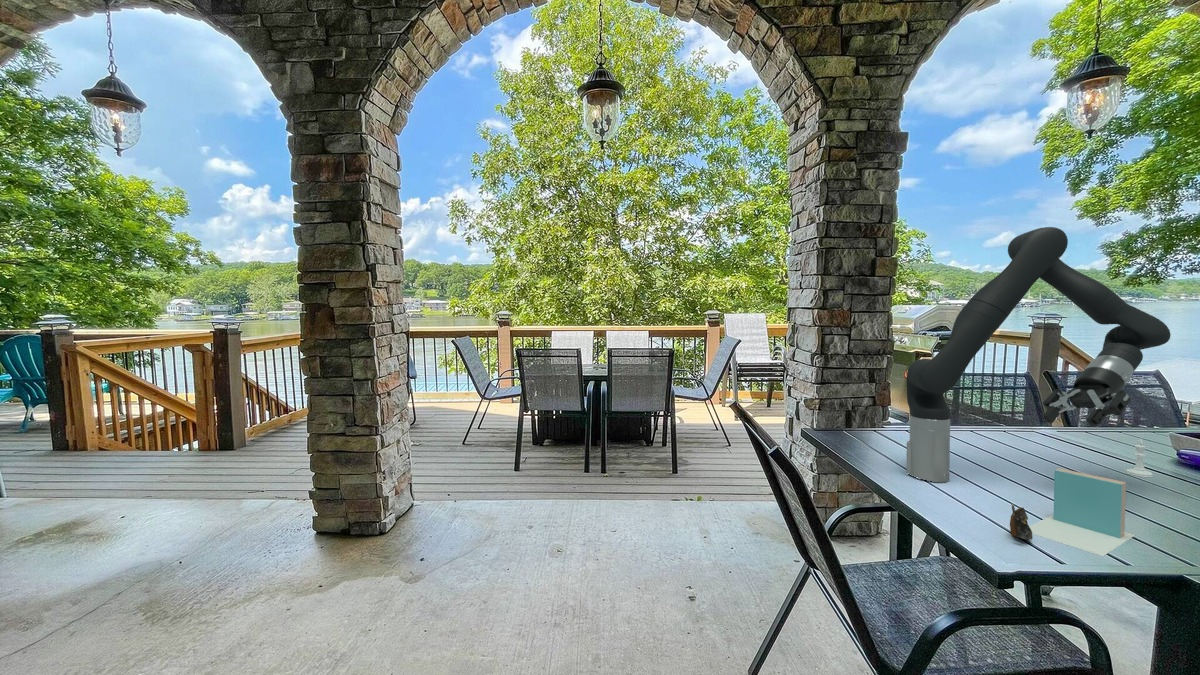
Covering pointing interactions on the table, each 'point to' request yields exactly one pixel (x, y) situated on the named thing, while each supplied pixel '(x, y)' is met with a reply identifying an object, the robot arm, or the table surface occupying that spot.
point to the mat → (1077, 536)
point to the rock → (1020, 524)
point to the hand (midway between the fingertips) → (1068, 421)
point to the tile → (1090, 502)
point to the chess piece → (1139, 462)
